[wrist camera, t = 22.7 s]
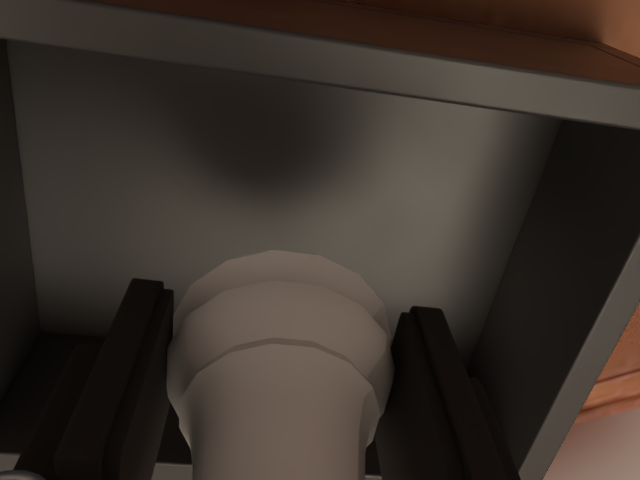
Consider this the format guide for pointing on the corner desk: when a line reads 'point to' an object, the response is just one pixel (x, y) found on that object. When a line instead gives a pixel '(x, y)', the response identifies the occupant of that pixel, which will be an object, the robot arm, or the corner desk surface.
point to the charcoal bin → (319, 185)
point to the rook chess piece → (279, 369)
